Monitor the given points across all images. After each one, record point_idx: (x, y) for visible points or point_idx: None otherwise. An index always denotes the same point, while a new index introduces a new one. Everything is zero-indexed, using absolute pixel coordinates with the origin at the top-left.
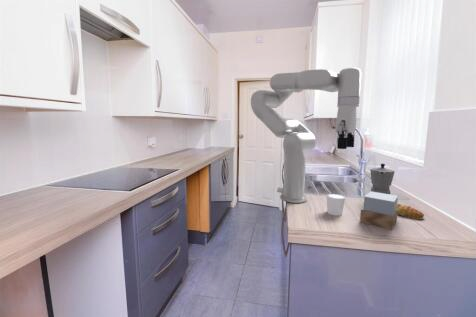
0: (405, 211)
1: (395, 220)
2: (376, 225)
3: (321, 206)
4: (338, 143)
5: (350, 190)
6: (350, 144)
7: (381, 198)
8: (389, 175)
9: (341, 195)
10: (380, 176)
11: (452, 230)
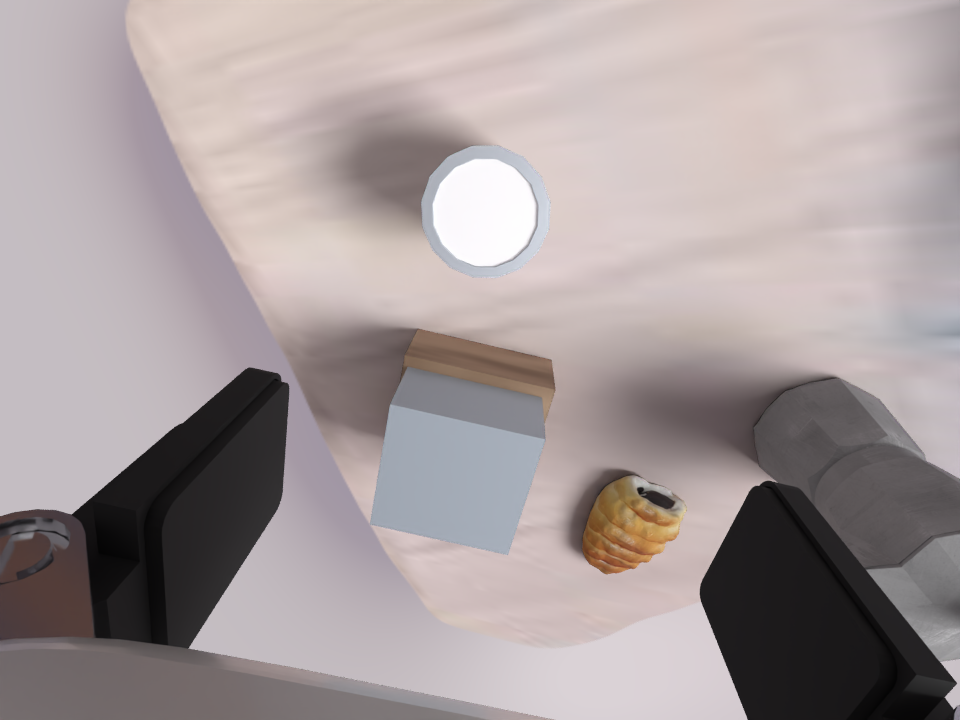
0: (599, 522)
1: None
2: None
3: (584, 95)
4: (192, 432)
5: None
6: (737, 594)
7: (400, 480)
8: None
9: (524, 252)
10: (852, 548)
11: (508, 606)
